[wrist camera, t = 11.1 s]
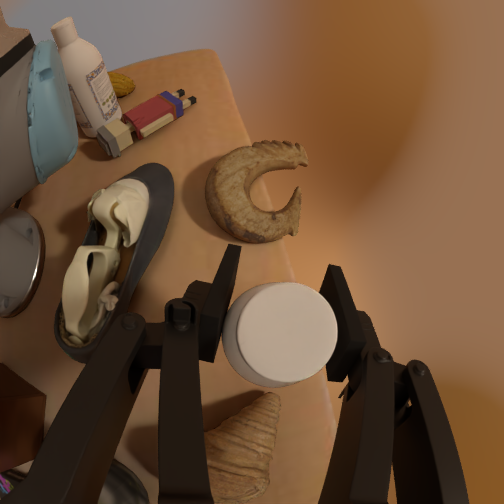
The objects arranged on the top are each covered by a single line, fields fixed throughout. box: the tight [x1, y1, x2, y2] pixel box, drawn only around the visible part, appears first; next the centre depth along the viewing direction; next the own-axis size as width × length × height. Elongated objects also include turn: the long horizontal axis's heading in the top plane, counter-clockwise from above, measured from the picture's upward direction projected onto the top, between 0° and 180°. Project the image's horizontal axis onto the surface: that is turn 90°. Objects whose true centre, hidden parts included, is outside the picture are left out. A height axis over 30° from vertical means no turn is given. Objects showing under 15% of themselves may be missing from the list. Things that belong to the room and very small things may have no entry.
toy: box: [96, 89, 196, 158], centre depth 34 cm, size 6×4×15 cm
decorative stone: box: [97, 460, 149, 504], centre depth 15 cm, size 10×10×10 cm
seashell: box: [204, 392, 281, 504], centre depth 20 cm, size 14×8×8 cm
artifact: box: [205, 140, 308, 243], centre depth 31 cm, size 12×3×15 cm
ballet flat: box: [54, 163, 174, 364], centre depth 24 cm, size 8×24×8 cm, turn 165°
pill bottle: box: [222, 282, 337, 388], centre depth 14 cm, size 5×5×9 cm
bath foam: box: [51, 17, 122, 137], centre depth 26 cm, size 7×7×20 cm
